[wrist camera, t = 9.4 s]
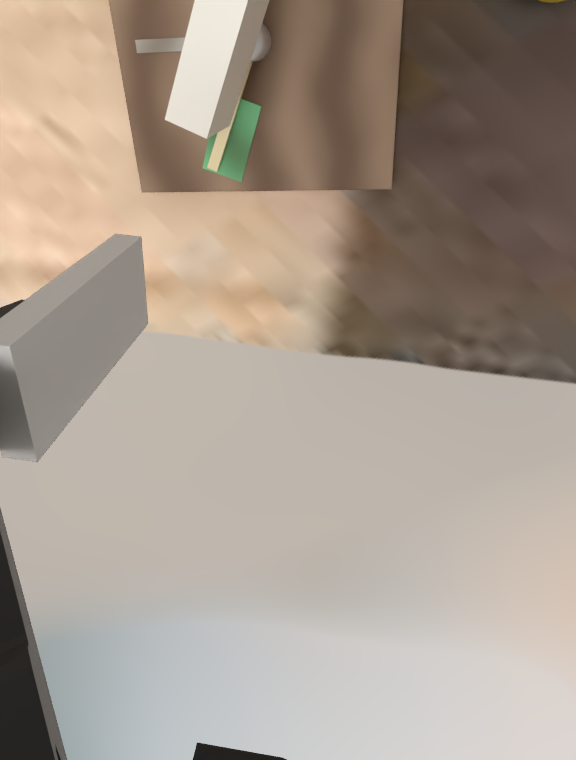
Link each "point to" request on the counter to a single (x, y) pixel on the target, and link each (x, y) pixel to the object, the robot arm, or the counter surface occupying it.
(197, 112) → the white stand
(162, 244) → the counter surface
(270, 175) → the wooden cutting board
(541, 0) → the lemon
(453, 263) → the counter surface
